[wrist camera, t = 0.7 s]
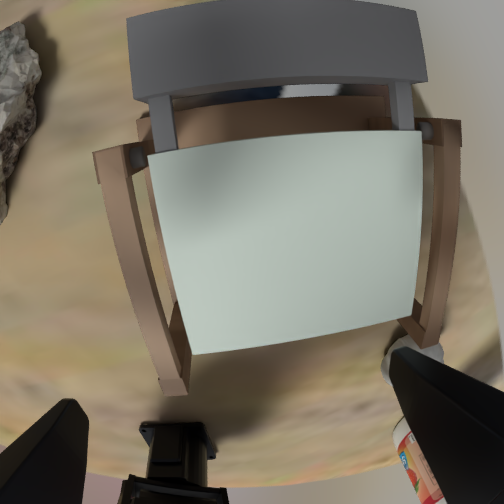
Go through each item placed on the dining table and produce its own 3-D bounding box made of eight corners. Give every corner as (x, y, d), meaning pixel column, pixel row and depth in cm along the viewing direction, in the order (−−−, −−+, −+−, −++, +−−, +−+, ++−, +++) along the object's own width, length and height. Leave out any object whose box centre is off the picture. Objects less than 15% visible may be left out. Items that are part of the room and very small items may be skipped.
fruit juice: (466, 394, 30) (563, 548, 5) (421, 442, 33) (493, 592, 7) (425, 389, 28) (535, 587, 2) (375, 442, 31) (448, 626, 5)
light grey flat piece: (397, 300, 16) (418, 323, 14) (194, 335, 16) (191, 366, 13) (389, 23, 11) (415, 10, 9) (141, 35, 10) (126, 18, 8)
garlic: (434, 314, 24) (466, 348, 20) (425, 359, 26) (450, 393, 22) (376, 331, 24) (403, 372, 19) (371, 377, 26) (392, 417, 21)
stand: (382, 280, 22) (439, 343, 15) (178, 313, 22) (163, 396, 14) (379, 97, 17) (460, 89, 10) (138, 120, 17) (84, 115, 9)
